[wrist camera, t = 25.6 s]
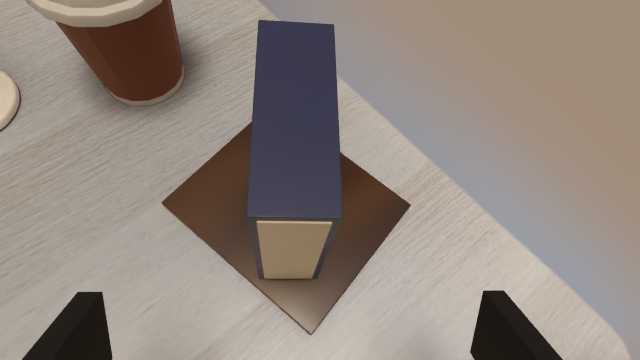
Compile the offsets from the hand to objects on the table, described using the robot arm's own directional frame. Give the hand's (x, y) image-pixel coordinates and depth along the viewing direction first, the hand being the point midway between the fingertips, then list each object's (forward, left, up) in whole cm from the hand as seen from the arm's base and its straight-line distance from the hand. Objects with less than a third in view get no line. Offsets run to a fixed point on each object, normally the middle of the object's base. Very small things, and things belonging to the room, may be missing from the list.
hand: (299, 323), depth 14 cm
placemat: (+6, -7, -13) cm, 16 cm away
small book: (+6, -7, -13) cm, 16 cm away
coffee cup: (+23, -8, -13) cm, 28 cm away
